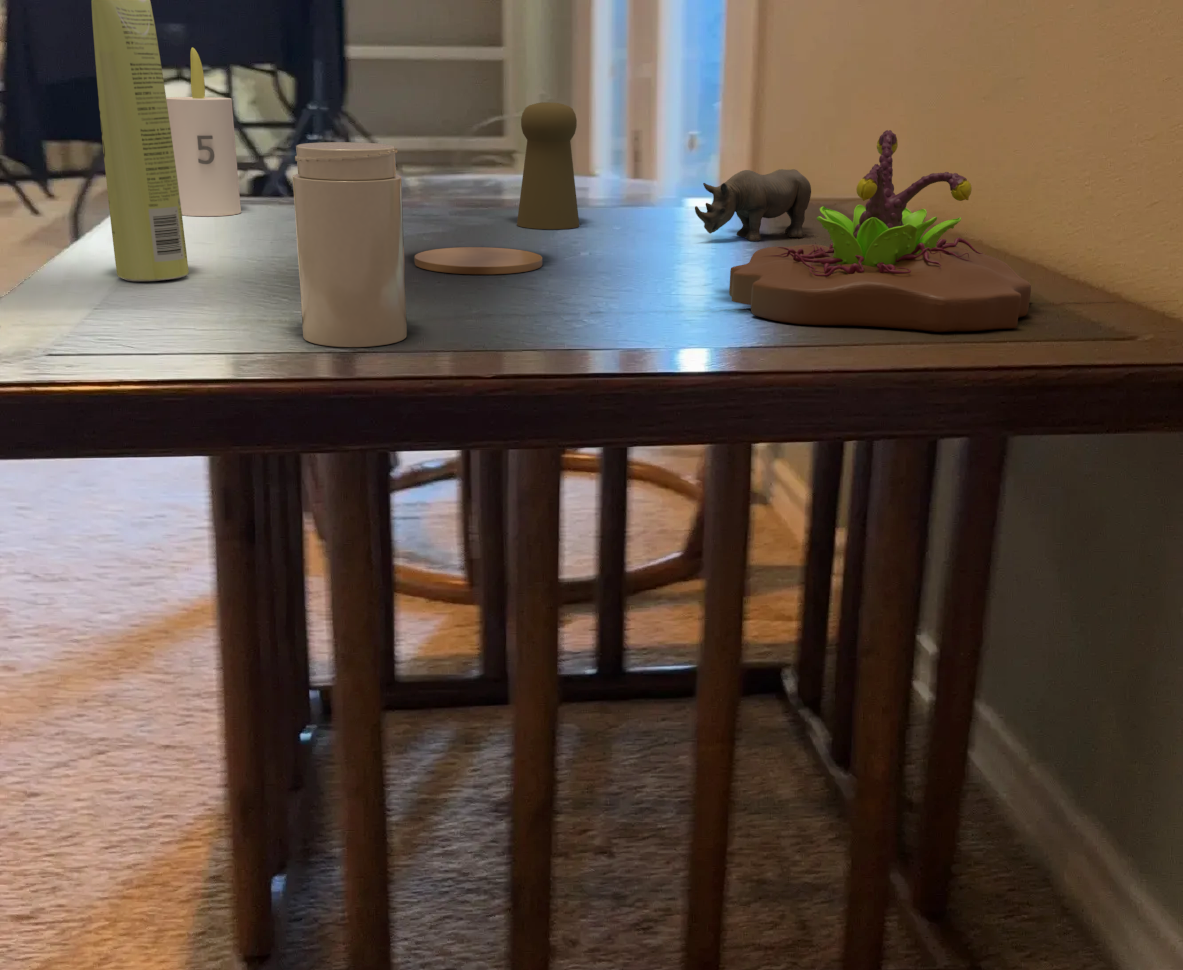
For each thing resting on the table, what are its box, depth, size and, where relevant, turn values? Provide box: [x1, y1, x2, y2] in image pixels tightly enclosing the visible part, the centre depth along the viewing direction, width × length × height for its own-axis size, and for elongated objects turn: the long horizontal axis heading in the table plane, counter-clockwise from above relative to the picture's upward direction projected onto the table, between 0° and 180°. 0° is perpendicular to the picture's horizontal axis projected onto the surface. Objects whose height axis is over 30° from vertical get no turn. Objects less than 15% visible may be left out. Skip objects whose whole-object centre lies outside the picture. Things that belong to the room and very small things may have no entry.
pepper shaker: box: [516, 101, 580, 230], centre depth 122 cm, size 6×6×11 cm
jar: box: [292, 141, 408, 348], centre depth 74 cm, size 6×6×11 cm
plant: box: [728, 129, 1032, 333], centre depth 87 cm, size 20×20×11 cm
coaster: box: [414, 246, 543, 276], centre depth 101 cm, size 10×10×1 cm
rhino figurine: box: [694, 168, 812, 242], centre depth 117 cm, size 4×14×6 cm, turn 124°
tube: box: [91, 0, 190, 282], centre depth 89 cm, size 6×5×20 cm
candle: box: [166, 47, 242, 217], centre depth 124 cm, size 6×6×15 cm
